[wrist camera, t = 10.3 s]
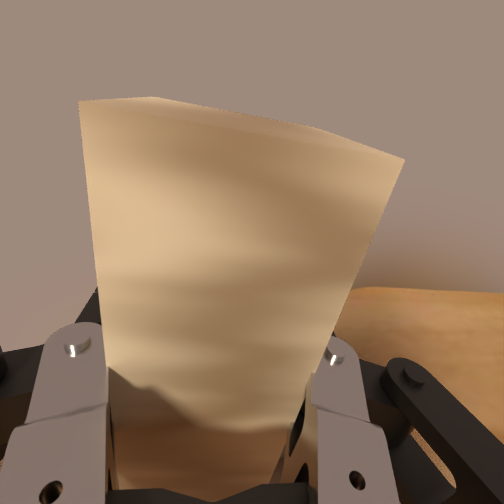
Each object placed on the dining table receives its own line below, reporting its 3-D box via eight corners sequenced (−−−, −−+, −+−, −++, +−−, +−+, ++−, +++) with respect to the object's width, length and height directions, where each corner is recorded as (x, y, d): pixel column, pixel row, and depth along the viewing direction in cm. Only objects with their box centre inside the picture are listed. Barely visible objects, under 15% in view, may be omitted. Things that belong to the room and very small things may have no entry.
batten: (124, 540, 10) (78, 100, 3) (151, 414, 14) (153, 96, 7) (248, 531, 11) (405, 159, 4) (240, 415, 15) (315, 127, 8)
